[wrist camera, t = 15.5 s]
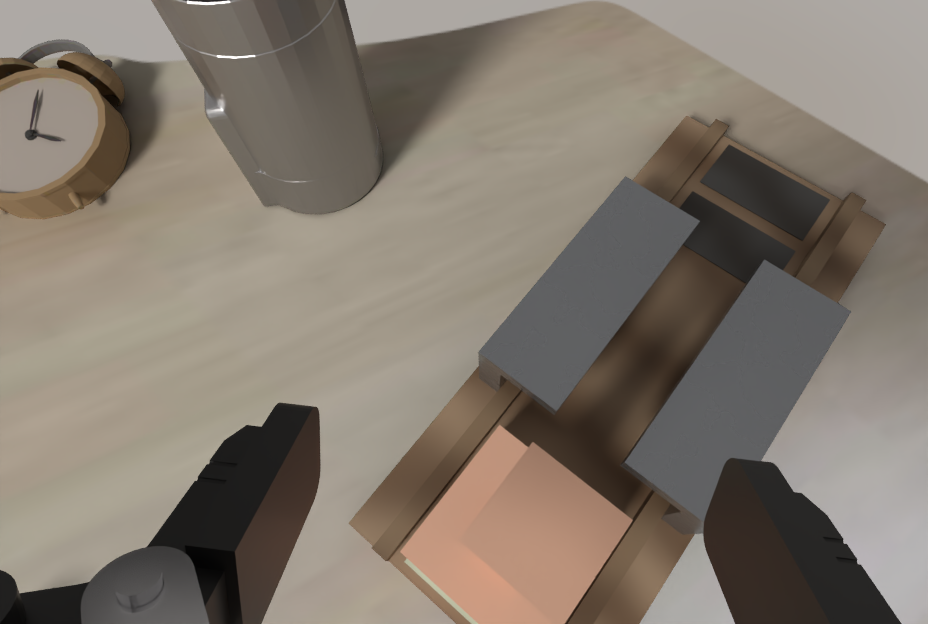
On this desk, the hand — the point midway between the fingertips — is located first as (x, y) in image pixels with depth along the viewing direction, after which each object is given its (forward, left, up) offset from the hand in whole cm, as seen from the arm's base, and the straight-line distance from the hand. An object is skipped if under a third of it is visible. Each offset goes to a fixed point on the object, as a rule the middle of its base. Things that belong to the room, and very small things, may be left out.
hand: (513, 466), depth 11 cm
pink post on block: (+1, -1, -22) cm, 22 cm away
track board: (+11, +7, -23) cm, 26 cm away
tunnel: (+11, +7, -22) cm, 25 cm away
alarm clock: (-27, +34, -24) cm, 49 cm away
